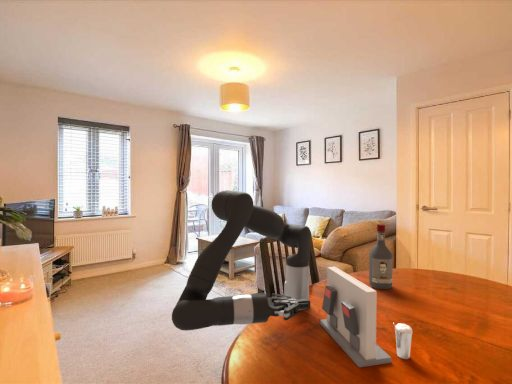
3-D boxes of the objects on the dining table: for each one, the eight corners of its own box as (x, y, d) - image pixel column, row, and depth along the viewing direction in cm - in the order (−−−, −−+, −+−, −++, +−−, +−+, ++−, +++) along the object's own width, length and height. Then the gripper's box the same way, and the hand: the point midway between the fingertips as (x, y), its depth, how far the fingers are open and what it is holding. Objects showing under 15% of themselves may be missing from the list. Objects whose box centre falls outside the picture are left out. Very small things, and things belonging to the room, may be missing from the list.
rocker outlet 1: (328, 314, 95) (332, 290, 95) (321, 308, 100) (325, 285, 100) (332, 315, 95) (337, 291, 95) (326, 308, 100) (329, 286, 100)
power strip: (359, 367, 79) (359, 293, 78) (319, 323, 103) (320, 267, 103) (391, 362, 81) (392, 290, 80) (345, 320, 106) (345, 265, 105)
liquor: (368, 282, 146) (368, 223, 145) (387, 283, 145) (388, 223, 144) (373, 288, 137) (373, 226, 136) (393, 289, 136) (394, 226, 135)
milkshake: (388, 352, 86) (389, 319, 86) (405, 351, 87) (406, 318, 86) (397, 361, 82) (398, 326, 81) (415, 360, 82) (416, 325, 82)
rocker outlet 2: (353, 336, 82) (349, 309, 82) (344, 327, 87) (340, 302, 87) (359, 334, 83) (354, 307, 82) (349, 325, 88) (345, 300, 87)
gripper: (254, 304, 71) (319, 299, 75) (244, 286, 84) (300, 282, 88) (254, 334, 71) (319, 327, 75) (244, 311, 84) (300, 306, 88)
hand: (309, 303), depth 82 cm, fingers closed
